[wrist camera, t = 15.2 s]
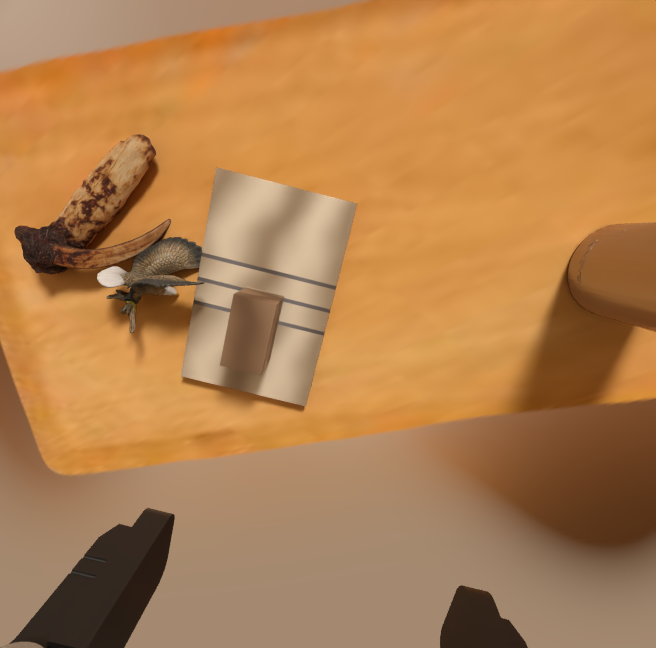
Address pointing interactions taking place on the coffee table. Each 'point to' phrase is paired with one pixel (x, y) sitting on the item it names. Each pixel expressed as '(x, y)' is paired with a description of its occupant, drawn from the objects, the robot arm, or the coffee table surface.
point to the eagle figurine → (152, 273)
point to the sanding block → (251, 330)
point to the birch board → (267, 279)
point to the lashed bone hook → (93, 215)
